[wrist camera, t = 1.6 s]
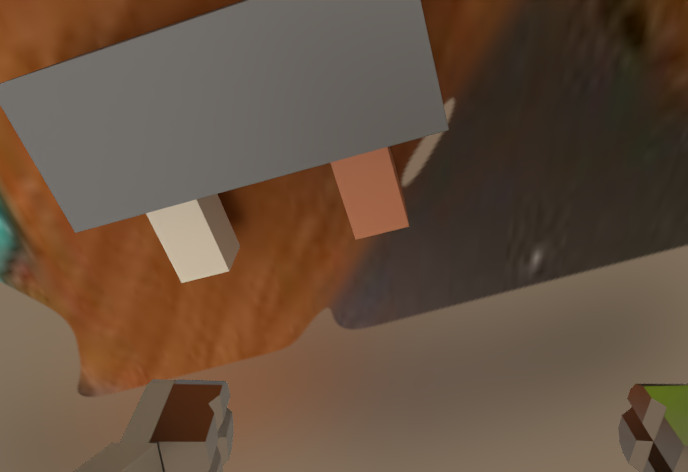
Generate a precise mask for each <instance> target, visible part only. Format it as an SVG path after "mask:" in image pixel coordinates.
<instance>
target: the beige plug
mask: <svg viewBox="0 0 688 472" xmlns="http://www.w3.org/2000/svg"><path fill="white" fill-rule="evenodd" d="M146 214H147V216H148V218H149V220H150V222H151V224H152V226H153V228H154V230H155V232H156V234H157V236H158V238H159V240H160V242H161V244H162V246H163V248H164V250H165V251H166V253H167V255H168V257H169V259H170V261H171V263H172V265H173V267H174V269H175V271H176V273H177V275H178V277H179V279H180V281H181V283H184V282H188V281H192V280H196V279H200V278H204V277H208V276H212V275H216V274H220V273H224V272H228V271H230V269H231V266H232V264H233V262H234V259H235V257H236V255H237V252H238V250H239V248H240V244H239V242H238V240H237V237H236V235H235V233H234V231H233V228H232V226H231V224H230V222H229V219H228V217H227V215H226V212H225V210H224V208H223V206H222V203H221V201H220V199H219V197H218V194H214V195H211V196H207V197H203V198H200V199H196V200H192V201H189V202H185V203H182V204H178V205H174V206H171V207H167V208H163V209H160V210H156V211H152V212H149V213H146Z"/></svg>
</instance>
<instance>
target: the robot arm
mask: <svg viewBox="0 0 688 472" xmlns="http://www.w3.org/2000/svg"><path fill="white" fill-rule="evenodd" d="M229 398H230V393H229V387H228V383H227V382H226V381H204V380H156V379H153V380H152V381H151V382H150V383H148V384H147V386H146V388H145V390H144V393H143V395H142V397H141V399H140V401H139V403H138V405H137V407H136V409H135V411H134V413H133V416H132V418H131V420H130V422H129V424H128V426H127V428H126V430H125V433H124V434H123V436H122V439H121V441H120V443H111V444H109V445H108V446H107V447H106V448H104V449H103V450H101V451H100V452H99V453H97V454H96V455H95V456H93V457H92V458H91V459H90V460H88V461H87V462H85V463H84V464H83V465H81V466H80V467H79V468H77V469H76V470H75V471H73V472H223V465H224V464H226V463H227V462H228V461H229V458H230V454H231V449H232V441H233V416H232V412H231V411H230V410H229V409H228V408H227V405H228V401H229ZM627 399H628V401H629V402H630V404H631V406H632V407H631V408H630V409H629V410H628V411H626V412H625V413H624V414H623V415H622V417H621V420H620V424H619V442H620V445H621V448H622V451H623V454H624V456H625V457H626V460H627V461H628V463H629V464H630V465H631V466H633V467H634V468H635V469H637V470H638V471H639V472H688V384H635V385H634V386H633V387H632V388H631V389H630V392H629V395H628V398H627Z"/></svg>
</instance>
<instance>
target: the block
mask: <svg viewBox="0 0 688 472" xmlns="http://www.w3.org/2000/svg"><path fill="white" fill-rule="evenodd" d="M0 105H1V107H2V109H3V110H4V112H5V114H6V115H7V117H8V119H9V121H10V122H11V124H12V126H13V127H14V129H15V131H16V132H17V134H18V136H19V138H20V139H21V141H22V143H23V144H24V146H25V148H26V149H27V151H28V153H29V155H30V156H31V158H32V160H33V161H34V163H35V165H36V166H37V168H38V170H39V172H40V173H41V175H42V177H43V178H44V180H45V182H46V184H47V185H48V187H49V189H50V190H51V192H52V194H53V195H54V197H55V199H56V201H57V202H58V204H59V206H60V207H61V209H62V211H63V212H64V214H65V216H66V218H67V219H68V221H69V223H70V224H71V226H72V228H73V229H74V231H75V233H76V232H80V231H83V230H87V229H91V228H94V227H98V226H102V225H105V224H109V223H112V222H116V221H120V220H123V219H127V218H131V217H134V216H138V215H142V214H145V213H149V212H152V211H156V210H160V209H163V208H167V207H171V206H174V205H178V204H182V203H185V202H189V201H192V200H196V199H200V198H203V197H207V196H211V195H214V194H218V193H222V192H225V191H229V190H232V189H236V188H240V187H243V186H247V185H251V184H254V183H258V182H261V181H265V180H269V179H272V178H276V177H280V176H283V175H287V174H291V173H294V172H298V171H301V170H305V169H309V168H312V167H316V166H320V165H323V164H327V163H331V162H334V161H338V160H341V159H345V158H349V157H352V156H356V155H360V154H363V153H367V152H371V151H374V150H378V149H381V148H385V147H389V146H392V145H396V144H400V143H403V142H407V141H410V140H414V139H418V138H421V137H425V136H429V135H432V134H436V133H440V132H443V131H447V130H449V129H448V124H447V119H446V115H445V110H444V106H443V101H442V96H441V92H440V87H439V83H438V78H437V74H436V69H435V64H434V60H433V55H432V51H431V46H430V42H429V37H428V32H427V28H426V23H425V19H424V14H423V9H422V5H421V0H243V1H240V2H237V3H234V4H231V5H228V6H225V7H222V8H219V9H216V10H213V11H210V12H207V13H204V14H201V15H198V16H195V17H192V18H189V19H186V20H183V21H180V22H177V23H174V24H171V25H168V26H165V27H162V28H159V29H156V30H153V31H150V32H147V33H144V34H141V35H138V36H136V37H133V38H130V39H127V40H124V41H121V42H118V43H115V44H112V45H109V46H106V47H103V48H100V49H97V50H94V51H91V52H88V53H85V54H82V55H79V56H76V57H73V58H70V59H68V60H65V61H62V62H59V63H56V64H54V65H51V66H48V67H45V68H42V69H40V70H37V71H34V72H31V73H28V74H25V75H23V76H20V77H17V78H14V79H11V80H9V81H6V82H3V83H0Z"/></svg>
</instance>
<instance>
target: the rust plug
mask: <svg viewBox="0 0 688 472" xmlns="http://www.w3.org/2000/svg"><path fill="white" fill-rule="evenodd" d="M331 167H332V170H333V173H334V176H335V179H336V182H337V185H338V188H339V191H340V194H341V197H342V200H343V203H344V206H345V209H346V212H347V215H348V218H349V221H350V224H351V227H352V230H353V233H354V237H355V240H357V239H361V238H365V237H369V236H373V235H377V234H381V233H385V232H389V231H393V230H397V229H401V228H405V227H409V223H408V216H407V210H406V204H405V200H404V196H403V193H402V189H401V185H400V182H399V178H398V174H397V171H396V167H395V163H394V160H393V156H392V152H391V149H390V146H389V147H385V148H381V149H378V150H374V151H371V152H367V153H363V154H360V155H356V156H352V157H349V158H345V159H341V160H338V161H334V162H331Z"/></svg>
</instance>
